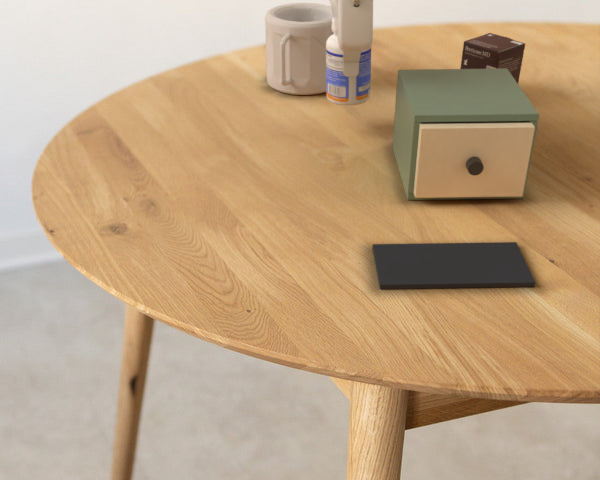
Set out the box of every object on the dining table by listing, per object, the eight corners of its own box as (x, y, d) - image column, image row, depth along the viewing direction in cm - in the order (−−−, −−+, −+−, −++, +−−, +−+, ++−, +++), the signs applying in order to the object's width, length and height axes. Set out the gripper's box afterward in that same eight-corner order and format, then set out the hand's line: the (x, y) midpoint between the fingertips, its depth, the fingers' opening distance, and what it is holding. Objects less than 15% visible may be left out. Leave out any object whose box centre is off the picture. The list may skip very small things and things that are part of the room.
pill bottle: (364, 89, 99) (366, 10, 93) (374, 104, 95) (377, 22, 89) (322, 92, 98) (321, 13, 93) (330, 108, 94) (331, 26, 88)
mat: (515, 246, 76) (516, 241, 76) (534, 286, 70) (535, 282, 70) (372, 248, 76) (372, 244, 76) (379, 289, 70) (380, 284, 70)
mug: (283, 66, 119) (282, -2, 113) (350, 75, 116) (353, 5, 110) (246, 97, 108) (243, 24, 103) (319, 108, 105) (320, 32, 99)
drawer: (525, 202, 81) (538, 131, 77) (416, 203, 81) (423, 133, 77) (495, 147, 93) (505, 83, 88) (400, 148, 92) (404, 84, 88)
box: (455, 93, 109) (462, 40, 105) (483, 83, 113) (490, 31, 108) (490, 105, 106) (498, 51, 101) (517, 95, 109) (526, 42, 105)
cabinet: (523, 198, 84) (539, 113, 78) (407, 200, 84) (414, 115, 78) (495, 145, 95) (507, 68, 90) (392, 147, 95) (397, 69, 89)
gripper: (389, -39, 78) (384, 95, 86) (370, -77, 94) (367, 39, 102) (326, -37, 78) (326, 97, 86) (318, -75, 94) (319, 40, 102)
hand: (348, 65), depth 94 cm, fingers closed on pill bottle, 5 cm apart
